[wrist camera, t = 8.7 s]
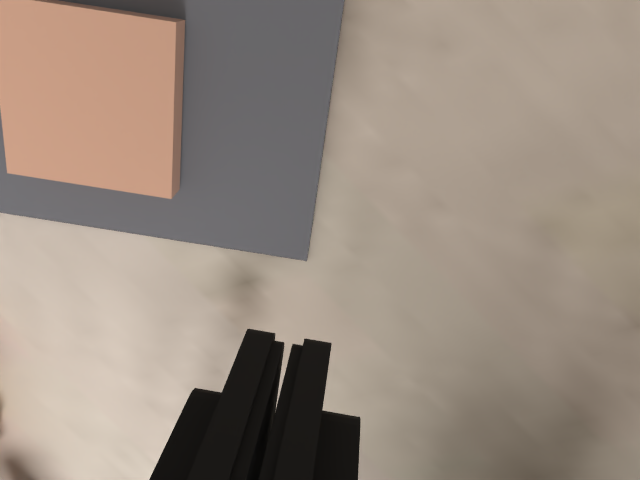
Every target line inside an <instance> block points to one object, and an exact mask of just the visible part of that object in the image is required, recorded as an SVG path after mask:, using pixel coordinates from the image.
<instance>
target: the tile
mask: <svg viewBox="0 0 640 480" xmlns="http://www.w3.org/2000/svg"><path fill="white" fill-rule="evenodd" d="M184 39H185V20H183V19H176V18H170V17H163V16H157V15H150V14H144V13H137V12H131V11H124V10H117V9H111V8H104V7H98V6H91V5H85V4H78V3H72V2H65V1H59V0H0V109H1V119H2V128H3V138H4V148H5V157H6V167H7V173H9V174H16V175H22V176H28V177H35V178H41V179H47V180H54V181H60V182H66V183H73V184H79V185H85V186H92V187H98V188H105V189H111V190H117V191H124V192H130V193H136V194H143V195H149V196H155V197H162V198H168V199H172V198H173V197H174V196H175V194H176V193H177V192H178V191H179V190H180V161H181V131H182V100H183V70H184Z"/></svg>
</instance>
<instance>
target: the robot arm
mask: <svg viewBox="0 0 640 480" xmlns="http://www.w3.org/2000/svg"><path fill="white" fill-rule="evenodd" d="M283 351H284V342H279V341H275V333H270V332H264V331H258V330H253V329H247V331H246V334H245V336H244V339H243V341H242V344H241V346H240V349H239V351H238V354H237V356H236V359H235V361H234V364H233V366H232V369H231V371H230V374H229V376H228V379H227V381H226V384H225V386H224V389H223V391H222V393H220V392H214V391H209V390H203V389H198V388H195V389H194V390H193V391H192V392H191V394H190V396H189V398H188V400H187V402H186V404H185V406H184V408H183V410H182V413H181V415H180V417H179V419H178V421H177V423H176V425H175V427H174V429H173V431H172V433H171V436H170V438H169V440H168V442H167V444H166V446H165V448H164V450H163V452H162V454H161V456H160V459H159V461H158V463H157V465H156V467H155V469H154V471H153V473H152V475H151V477H150V479H149V480H358V463H359V442H360V417H356V416H350V415H344V414H339V413H333V412H327V411H322V408H323V401H324V394H325V387H326V379H327V372H328V365H329V358H330V351H331V343H328V342H322V341H316V340H310V339H304V343H303V346H302V345H296V344H293V345H292V348H291V352H290V356H289V360H288V364H287V368H286V372H285V376H284V380H283V384H282V388H281V392H280V396H279V400H278V404H277V408H276V402H277V395H278V388H279V380H280V373H281V366H282V358H283ZM275 410H276V412H275Z"/></svg>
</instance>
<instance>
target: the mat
mask: <svg viewBox="0 0 640 480" xmlns="http://www.w3.org/2000/svg"><path fill="white" fill-rule="evenodd" d="M59 1H65V2H72V3H78V4H85V5H91V6H98V7H104V8H111V9H117V10H124V11H131V12H137V13H144V14H150V15H157V16H163V17H170V18H176V19H183V20H185V39H184V70H183V100H182V131H181V161H180V190H179V191H178V192H177V193H176V194H175V196H174V197H173V198H172V199H168V198H162V197H155V196H149V195H143V194H136V193H130V192H124V191H117V190H111V189H105V188H98V187H92V186H85V185H79V184H73V183H66V182H60V181H54V180H47V179H41V178H35V177H28V176H22V175H16V174H9V173H7V167H6V157H5V148H4V138H3V128H2V119H1V109H0V213H7V214H13V215H19V216H26V217H32V218H38V219H45V220H51V221H57V222H64V223H70V224H76V225H82V226H89V227H95V228H101V229H108V230H114V231H120V232H127V233H133V234H139V235H146V236H152V237H158V238H165V239H171V240H177V241H184V242H190V243H196V244H203V245H209V246H215V247H222V248H228V249H234V250H240V251H247V252H253V253H259V254H266V255H272V256H278V257H285V258H291V259H297V260H304V261H307V258H308V251H309V244H310V237H311V230H312V223H313V216H314V209H315V202H316V195H317V188H318V181H319V174H320V167H321V160H322V153H323V146H324V139H325V132H326V125H327V118H328V111H329V104H330V97H331V91H332V84H333V77H334V70H335V63H336V56H337V49H338V42H339V35H340V28H341V21H342V14H343V7H344V0H59Z"/></svg>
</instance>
